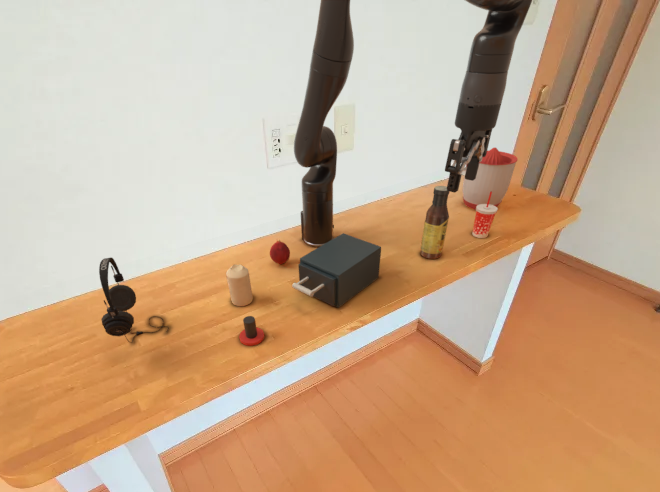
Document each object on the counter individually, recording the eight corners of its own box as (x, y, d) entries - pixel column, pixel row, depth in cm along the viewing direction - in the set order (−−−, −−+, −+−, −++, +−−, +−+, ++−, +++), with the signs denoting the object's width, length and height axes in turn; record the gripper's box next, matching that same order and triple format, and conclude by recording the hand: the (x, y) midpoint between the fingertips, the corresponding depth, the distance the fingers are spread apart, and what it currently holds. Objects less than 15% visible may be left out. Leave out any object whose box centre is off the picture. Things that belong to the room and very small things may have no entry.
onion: (294, 261, 113) (292, 236, 108) (285, 270, 109) (283, 246, 104) (276, 257, 115) (274, 233, 110) (267, 267, 111) (264, 242, 106)
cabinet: (338, 308, 95) (338, 275, 89) (301, 289, 102) (299, 258, 96) (378, 277, 105) (381, 246, 99) (342, 263, 112) (343, 232, 106)
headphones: (169, 351, 85) (141, 275, 72) (115, 363, 83) (77, 286, 70) (168, 312, 96) (144, 240, 84) (121, 321, 94) (89, 249, 81)
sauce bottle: (442, 260, 111) (456, 193, 98) (419, 259, 112) (430, 192, 99) (440, 249, 116) (453, 184, 103) (419, 248, 117) (429, 183, 104)
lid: (234, 338, 87) (231, 320, 84) (253, 326, 91) (250, 308, 87) (250, 349, 84) (247, 331, 81) (269, 336, 88) (266, 318, 84)
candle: (235, 308, 96) (229, 275, 90) (228, 297, 100) (222, 264, 94) (256, 302, 98) (251, 268, 92) (248, 291, 102) (243, 258, 96)
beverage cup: (481, 229, 125) (492, 186, 116) (494, 237, 121) (507, 193, 112) (465, 232, 124) (475, 189, 115) (477, 240, 119) (489, 196, 110)
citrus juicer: (446, 198, 146) (457, 143, 133) (490, 195, 147) (505, 139, 134) (464, 215, 133) (478, 156, 121) (512, 211, 134) (530, 152, 122)
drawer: (319, 316, 91) (318, 289, 86) (285, 298, 97) (283, 272, 92) (372, 277, 103) (374, 252, 98) (339, 264, 109) (339, 239, 105)
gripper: (476, 91, 77) (459, 172, 88) (443, 103, 69) (428, 191, 80) (515, 95, 73) (491, 179, 84) (484, 108, 65) (463, 200, 76)
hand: (461, 185), depth 82 cm, fingers open, 8 cm apart
